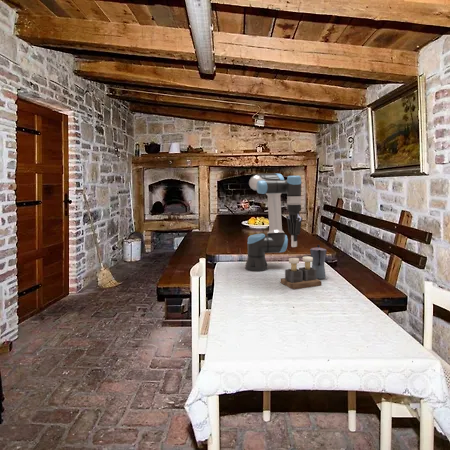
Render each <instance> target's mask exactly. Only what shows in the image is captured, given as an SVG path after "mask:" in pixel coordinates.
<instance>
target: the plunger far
mask: <svg viewBox="0 0 450 450" xmlns="http://www.w3.org/2000/svg"><path fill="white" fill-rule="evenodd" d="M312 261H313V257H311V256H307V255H306V256H302V262H304V267H305V269H306V270H310V267H311V263H312Z"/></svg>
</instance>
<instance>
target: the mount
mask: <svg viewBox="0 0 450 450" xmlns="http://www.w3.org/2000/svg"><path fill="white" fill-rule="evenodd" d="M280 283H281V284H282V285H285V287H288V288H290V289H292V290H299V289H306V288H314V287H320V286H323V285H322V283H323V281H322V280H321V279H316V269H314V268H312V266H310V270H306V269H305V266H304V267H298V268H297V271H293V272H292V271H291V268H288V269H287V268H286V269H284V277H282V278H280Z"/></svg>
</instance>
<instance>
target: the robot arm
mask: <svg viewBox="0 0 450 450" xmlns="http://www.w3.org/2000/svg"><path fill="white" fill-rule="evenodd" d="M248 185H249V186H248V187H250V190H251V189H252V190H253V191H256V192H257V194H259V195H260V194H261V195H266V196H267V210H268V211H267V213H268V231H267V235H266V234H265V233H255V234H251V235H249V236H248V237H247V259H246V262H245V265H244V266H245V267H244V268H245V270H246V271H250V272H265V271H267V270H269V267H268V265H269V264H268V263H267V259H266V254H277V253H278V254H279V253H284V252H286V251H287V248H288V245H289V244H288V243H289V239H288V235H287V234H285V232H284V230H283V226H282V225H283V223H282V204H281V201H282V199H281V195H282V194H286V195H287V196H286V198H287V199H286V201H287V205H286V206H287V207H286V211H287V212H289V213H288V215H287V216H286V222H287V230H288V234H290V240H291V242H290V245H291V246H290V247H291V248H296V247H298V236H299V235H300V234H301V228H302V227H301V225H302V221H303V217H302V216H301V215H300V212H302V177H301V175H288V176H287V179H285V178H284V175H282V174H281V173H275V172H273V173H257V174H254V175H252V176H251V177H250V179H249V181H248Z"/></svg>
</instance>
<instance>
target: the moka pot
mask: <svg viewBox="0 0 450 450" xmlns="http://www.w3.org/2000/svg"><path fill="white" fill-rule="evenodd" d="M320 246H321V245H320V244H317V247H311V248H310V249H309V251H310V257H313V261H312V262H311V268H314V269H316V279H318V280H323V279H325V278H327V277H326V268H325V262H326V258H327V249H326V248H323V247H320Z"/></svg>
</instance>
